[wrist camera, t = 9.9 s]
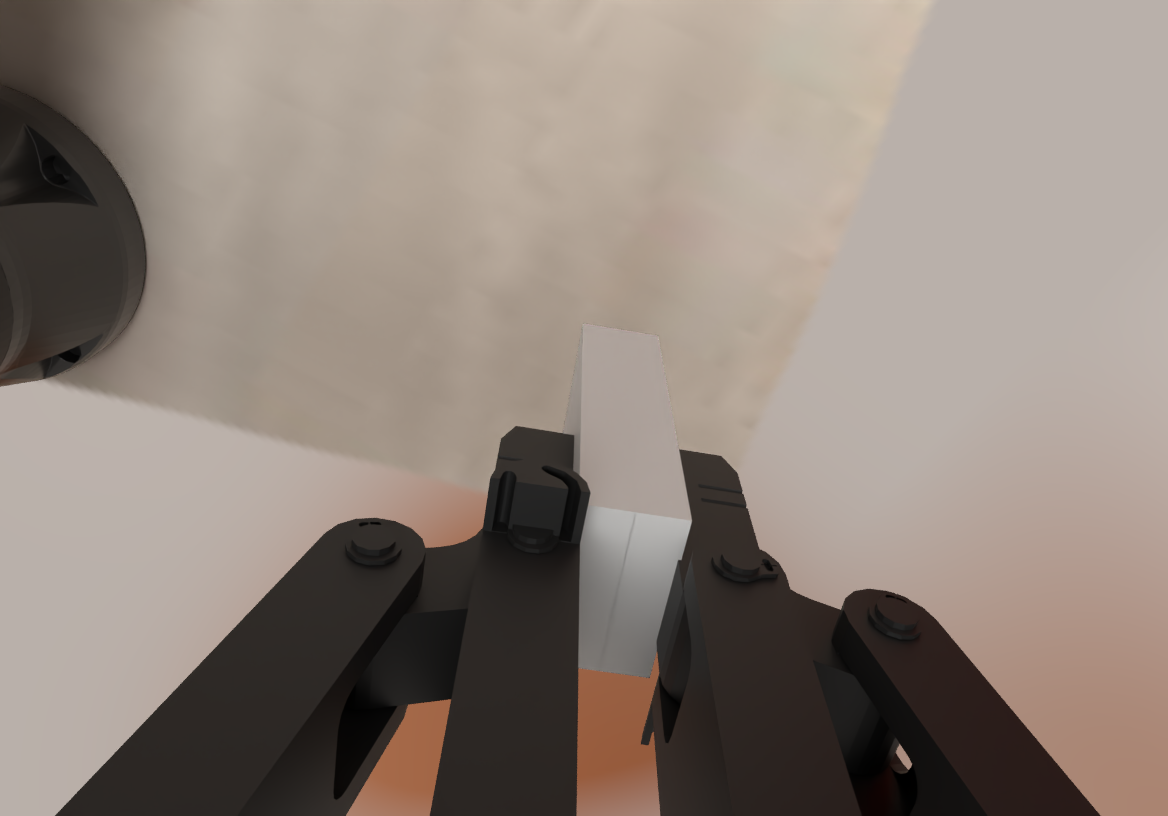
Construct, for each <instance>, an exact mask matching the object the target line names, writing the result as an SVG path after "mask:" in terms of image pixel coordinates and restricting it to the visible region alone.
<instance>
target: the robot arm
mask: <svg viewBox="0 0 1168 816" xmlns="http://www.w3.org/2000/svg"><path fill="white" fill-rule="evenodd" d="M144 276H145V250H144V242H143V237H142V232H141V228H140V224H139V221H138V217H137V215H136V212H135V209H134V206H133V204H132V202H131V200H130V197H129V195H128V193H127V191H126V189H125V187H124V185H123V184H122V182H121V180H120V179H119V177H118V175H117V174H116V172H115V171H114V169H113V168H112V166H111V165H110V164H109V162H108V161H107V160H106V158H105V157H104V156H103V155H102V153H101V152H100V151H99V150H98V149H97V148H96V147H95V145H94V144H93V143H92V142H91V141H90V140H89V139H88V138H87V137H86V136H85V135H84V134H83V133H82V132H80V131H79V130H78V129H77V128H76V127H75V126H74V125H72V124H71V123H70V122H69V121H67V120H66V119H65V118H64V117H62V116H61V115H59V114H58V113H57V112H55V111H54V110H52V109H51V108H49V107H47V106H46V105H44V104H42V103H41V102H39V101H37V100H35V99H33V98H31V97H29V96H27V95H25V94H23V93H21V92H18V91H15V90H13V89H10V88H8V87H4V86H1V85H0V387H1V386H7V385H12V384H19V383H25V382H31V381H37V380H42V379H46V378H50V377H53V376H56V375H59V374H62V373H64V372H67V371H69V370H71V369H73V368H75V367H77V366H79V365H80V364H82V363H84V362H85V361H87V360H88V359H90V358H91V357H92V356H94V355H95V354H96V353H98V352H99V351H101V350H102V349H103V348H105V347H106V346H107V345H109V344H110V343H111V342H112V341H113V340H114V339H116V338H117V337H118V335H119V334H120V333H121V332H122V331H123V330H124V328H125V327H126V326H127V324H128V323H129V321H130V320H131V318H132V316H133V314H134V312H135V310H136V308H137V305H138V303H139V300H140V297H141V293H142V289H143V284H144ZM656 652H658V662H659V676H658V680H657V683H656V687H655V691H654V695H653V698H652V701H651V705H650V709H649V712H648V716H647V720H646V723H645V727H644V731H643V735H642V740H641V744H644V745H649V741H650V738H651V734H652V732H654V739H655V752H656V764H657V777H658V790H659V802H660V815H661V816H1100V815H1099V813H1098V812H1097V811H1096V810H1095V809H1094V807H1093V806H1092V805H1091V804H1090V803H1089V801H1088V800H1087V799H1086V798H1085V797H1084V796H1083V794H1082V793H1081V792H1080V791H1079V790H1078V788H1077V787H1076V786H1075V785H1074V783H1073V782H1072V781H1071V780H1070V779H1069V778H1068V776H1067V775H1066V774H1065V773H1064V772H1063V770H1062V769H1061V768H1060V767H1059V766H1058V764H1057V763H1056V762H1055V761H1054V760H1053V758H1052V757H1051V756H1050V755H1049V754H1048V753H1047V751H1046V750H1045V749H1044V748H1043V747H1042V745H1041V744H1040V743H1039V742H1038V741H1037V739H1036V738H1035V737H1034V736H1033V735H1032V733H1031V732H1030V731H1029V730H1028V729H1027V727H1026V726H1025V725H1024V724H1023V723H1022V722H1021V720H1020V719H1019V718H1018V717H1017V716H1016V714H1015V713H1014V712H1013V711H1012V710H1011V708H1010V707H1009V706H1008V705H1007V704H1006V702H1005V701H1004V700H1003V699H1002V698H1001V696H1000V695H999V694H998V693H997V692H996V690H995V689H994V688H993V687H992V686H991V684H990V683H989V682H988V681H987V680H986V678H985V677H984V676H983V675H982V674H981V673H980V671H979V670H978V669H977V668H976V667H975V665H974V664H973V663H972V662H971V661H970V659H969V658H968V657H967V656H966V655H965V654H964V652H963V651H962V650H961V649H960V648H959V646H958V645H957V644H956V643H955V642H954V640H953V639H952V638H951V637H950V636H949V634H948V633H947V632H946V631H945V630H944V628H943V627H942V626H941V625H940V624H939V622H938V621H937V620H936V619H935V618H934V617H933V616H931V615H930V614H929V613H928V612H927V611H926V610H925V609H924V608H923V607H920V606H919V605H917V604H916V603H914V602H912V601H911V600H909V599H908V598H906V597H903V596H901V595H898V594H895V593H892V592H888V591H883V590H874V589H865V590H859V591H854V592H853V593H851V594H850V595H849V596H848V597H846V598H845V601H844V603H843V606H842V609H841V610H840V609H837V608H834V607H831V606H828V605H826V604H823V603H820V602H817V601H814V600H811V599H809V598H807V597H804V596H802V595H800V594H797V593H796V592H794V591H792V590H791V589H790V587H789V583H788V580H787V577H786V574H785V572H784V571H783V569H782V568H781V566H780V564H779V563H778V562H777V561H776V560H775V559H773V558H772V557H771V556H770V555H769V554H767V553H766V552H764V551H762V550H760V549H759V547H758V543H757V540H756V536H755V533H754V529H753V526H752V522H751V519H750V515H749V512H748V509H747V508H746V501H745V498H744V495H743V494H742V488H741V484H740V481H739V477H738V474H737V472H736V471H735V470H734V469H733V468H732V467H731V466H730V465H729V464H728V463H727V462H726V461H725V460H724V459H723V458H722V456H717V455H711V454H705V453H698V452H692V451H686V450H679V447H678V441H677V436H676V430H675V425H674V419H673V414H672V408H671V403H670V397H669V392H668V386H667V381H666V375H665V370H664V364H663V359H662V353H661V348H660V342H659V337H658V335H652V334H646V333H640V332H634V331H628V330H622V329H616V328H610V327H604V326H598V325H592V324H586V323H583V326H582V331H581V337H580V342H579V347H578V353H577V358H576V363H575V369H574V374H573V380H572V385H571V390H570V396H569V401H568V407H567V412H566V417H565V423H564V428H563V433H557V432H551V431H544V430H538V429H532V428H525V427H519V426H516V427H514V428H513V429H512V430H511V431H510V432H508V433H507V434H506V435H505V436H504V437H503V438H501V442H500V447H499V453H498V459H497V463H496V469H495V471H494V473H493V474H492V476H491V478H490V484H489V491H488V498H487V505H486V512H485V518H484V525H483V528H482V529H481V530H480V531H479V532H478V534H477V535H476V536H474V537H472V538H470V539H468V540H467V541H465V542H462V543H458V544H455V545H451V546H444V547H436V548H425V546H424V543H423V539H422V538H421V537H420V536H419V535H418V534H417V533H416V532H415V531H414V530H413V529H411V528H409V527H407V526H405V525H402V524H400V523H398V522H396V521H390V520H385V519H379V518H365V519H354V520H351V521H347V522H344V523H341V524H338V525H336V526H335V527H333V528H332V529H330V530H329V531H327V532H326V533H325V534H324V535H323V536H322V537H321V538H320V539H319V540H318V541H317V542H316V543H315V544H314V545H313V546H312V547H311V549H309V550H308V551H307V553H306V554H305V555H304V556H303V557H302V558H301V559H300V560H299V561H298V562H297V563H296V564H295V565H294V566H293V567H292V568H291V569H290V570H289V571H288V573H286V575H285V576H284V577H283V578H282V579H281V580H280V581H279V582H278V583H277V584H276V585H275V586H274V587H273V588H272V589H271V590H270V591H269V592H268V593H267V594H266V595H265V597H264V598H263V599H262V600H261V601H260V602H259V603H258V604H257V605H256V606H255V607H254V608H253V609H252V610H251V611H250V612H249V613H248V614H247V615H246V616H245V617H244V618H243V620H242V621H241V622H240V623H239V624H238V625H237V626H236V627H235V628H234V629H233V630H232V631H231V632H230V633H229V634H228V635H227V636H226V637H225V638H224V639H223V640H222V642H221V643H220V644H219V645H218V646H217V647H216V648H215V649H214V650H213V651H212V652H211V653H210V654H209V655H208V656H207V657H206V658H205V659H204V660H203V661H202V662H201V663H200V665H199V666H198V667H197V668H196V669H195V670H194V671H193V672H192V673H191V674H190V675H189V676H188V677H187V678H186V679H185V680H184V681H183V682H182V684H180V686H179V687H178V688H177V689H176V690H175V691H174V692H173V693H172V694H171V695H170V696H169V697H168V698H167V699H166V700H165V701H164V702H163V703H162V704H161V705H160V706H159V707H158V708H157V710H156V711H155V712H154V713H153V714H152V715H151V716H150V717H149V718H148V719H147V720H146V721H145V722H144V723H143V724H142V725H141V726H140V727H139V728H138V729H137V730H136V732H135V733H134V734H133V735H132V736H131V737H130V738H129V739H128V740H127V741H126V742H125V743H124V744H123V745H122V746H121V747H120V748H119V749H118V750H117V751H116V752H115V754H114V755H113V756H112V757H111V758H110V759H109V760H108V761H107V762H106V763H105V764H104V765H103V766H102V767H101V768H100V769H99V770H98V771H97V772H96V773H95V774H94V775H93V776H92V778H91V779H90V780H89V781H88V782H87V783H86V784H85V785H84V786H83V787H82V788H81V789H80V790H79V791H78V792H77V794H75V795H74V796H73V798H72V799H71V800H70V801H69V802H68V803H67V804H66V805H65V806H64V807H63V808H62V809H61V810H60V811H59V812H58V813H57V814H56V815H55V816H346V814H347V813H348V811H349V809H350V807H351V806H352V804H353V803H354V801H355V799H356V797H357V796H358V794H359V792H360V791H361V789H362V787H363V786H364V784H365V782H366V781H367V779H368V777H369V776H370V774H371V772H372V770H373V769H374V767H375V766H376V764H377V762H378V760H379V759H380V757H381V755H382V754H383V752H384V750H385V749H386V747H387V745H388V744H389V742H390V740H391V738H392V737H393V735H394V734H395V732H396V730H397V729H398V727H399V725H400V724H401V722H402V720H403V718H404V716H405V712H406V709H407V706H408V704H416V703H424V702H431V701H440V700H448V699H451V704H450V710H449V715H448V720H447V726H446V731H445V737H444V742H443V747H442V753H441V759H440V763H439V769H438V774H437V780H436V785H435V791H434V796H433V801H432V807H431V812H430V816H576V803H577V799H576V798H577V730H578V729H577V727H578V726H577V725H578V721H577V720H578V668H582V669H589V670H596V671H603V672H611V673H618V674H625V675H632V676H639V677H646V678H650V675H651V671H652V667H653V663H654V660H655V656H656ZM899 744H900V745H901V746H902V748H903V749H904V751H905V752H906V754H907V755H908V757H909V758H910V761H911V763H912V766H911V768H910V769H909V770H908V769H907V768H906V767H905V766H904V765H903V763H902V762H901V760H900V759H899V757H898V756H897V754H896V750H897V748H898V746H899Z"/></svg>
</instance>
